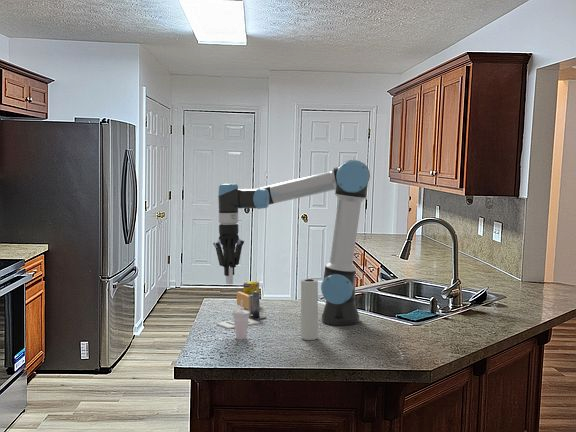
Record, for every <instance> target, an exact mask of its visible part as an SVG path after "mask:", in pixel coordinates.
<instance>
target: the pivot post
mask: <svg viewBox="0 0 576 432" xmlns="http://www.w3.org/2000/svg"><path fill="white" fill-rule="evenodd" d="M260 303H261V302H260V290H259V291H253V315H249V319H252V320H255V321H261V320H266V319H267V316H264V315H261V314H260V313H261V312H260V307H261V306H260Z"/></svg>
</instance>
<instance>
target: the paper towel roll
mask: <svg viewBox="0 0 576 432" xmlns="http://www.w3.org/2000/svg"><path fill="white" fill-rule="evenodd" d="M318 285H319V282H318V279H313V278H307V279H301V280H300V337H301V338H300V339H302V340H306V341H314V340H318V335H319V334H318V333H319V329H318V327H319V326H318V322H319V321H318V320H319V319H318V318H319V317H318V316H319V313H318V312H319V310H318V309H319V308H318V307H319V304H318V303H319V302H318V299H319V298H318V297H319V296H318V295H319V294H318V293H319V288H318V287H319V286H318Z"/></svg>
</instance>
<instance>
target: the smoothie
mask: <svg viewBox="0 0 576 432" xmlns="http://www.w3.org/2000/svg"><path fill="white" fill-rule="evenodd" d="M231 315H232V317H233V322H234V325H235V328H234V330H235V331H234V332H235V338H236V340H246V339H247V337H248V327H249V326H248V320H249V316H251V315H250V312H249V310H247V309H244V310H243V307H242V300H241V306H240V309H239V310H238V309H237V310H233V311H232V314H231Z"/></svg>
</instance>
